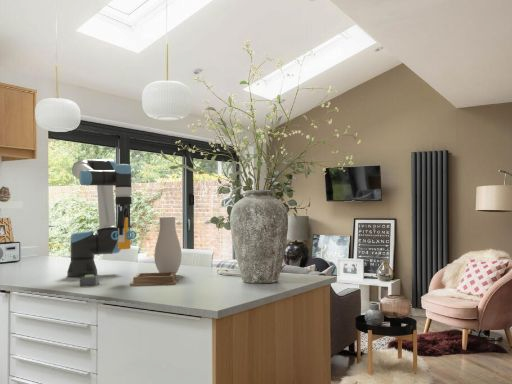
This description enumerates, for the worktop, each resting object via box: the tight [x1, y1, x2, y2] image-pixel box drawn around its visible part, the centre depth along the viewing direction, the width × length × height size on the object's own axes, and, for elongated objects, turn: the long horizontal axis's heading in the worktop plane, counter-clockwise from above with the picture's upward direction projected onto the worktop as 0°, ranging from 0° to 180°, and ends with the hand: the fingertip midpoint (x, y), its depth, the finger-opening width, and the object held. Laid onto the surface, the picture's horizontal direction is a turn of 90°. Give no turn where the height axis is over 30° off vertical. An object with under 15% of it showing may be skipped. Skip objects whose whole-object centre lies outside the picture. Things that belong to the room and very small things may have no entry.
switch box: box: [79, 274, 100, 288], centre depth 232 cm, size 7×7×4 cm
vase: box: [153, 216, 182, 275], centre depth 263 cm, size 14×14×30 cm
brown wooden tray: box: [129, 272, 179, 287], centre depth 237 cm, size 19×20×4 cm
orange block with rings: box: [111, 217, 137, 250], centre depth 244 cm, size 12×10×15 cm
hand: (124, 241), depth 244 cm, fingers closed on orange block with rings, 12 cm apart
